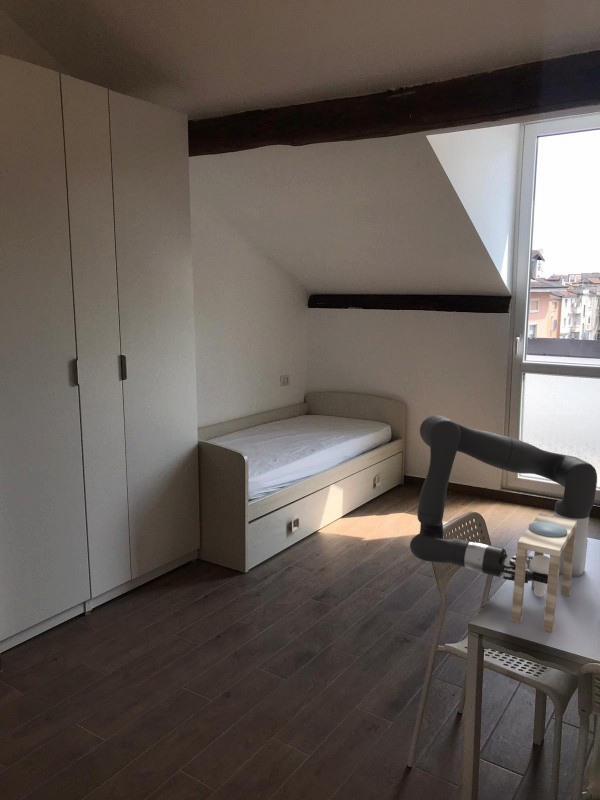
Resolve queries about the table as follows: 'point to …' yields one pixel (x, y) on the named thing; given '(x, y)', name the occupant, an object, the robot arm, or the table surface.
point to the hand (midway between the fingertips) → (551, 574)
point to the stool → (549, 539)
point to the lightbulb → (540, 566)
